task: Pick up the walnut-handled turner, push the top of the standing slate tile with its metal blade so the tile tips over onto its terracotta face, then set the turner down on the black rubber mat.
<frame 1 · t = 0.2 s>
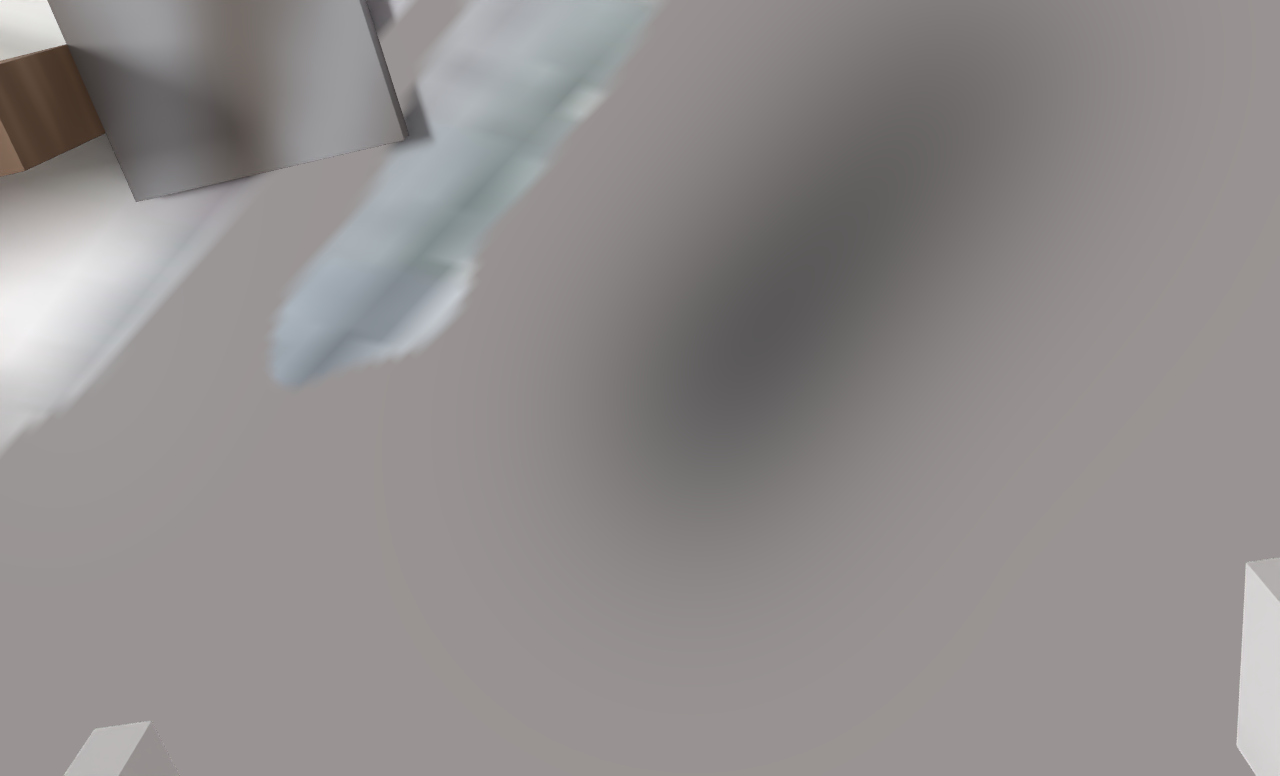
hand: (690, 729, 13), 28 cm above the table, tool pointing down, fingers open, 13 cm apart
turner: (45, 98, 37), on the table
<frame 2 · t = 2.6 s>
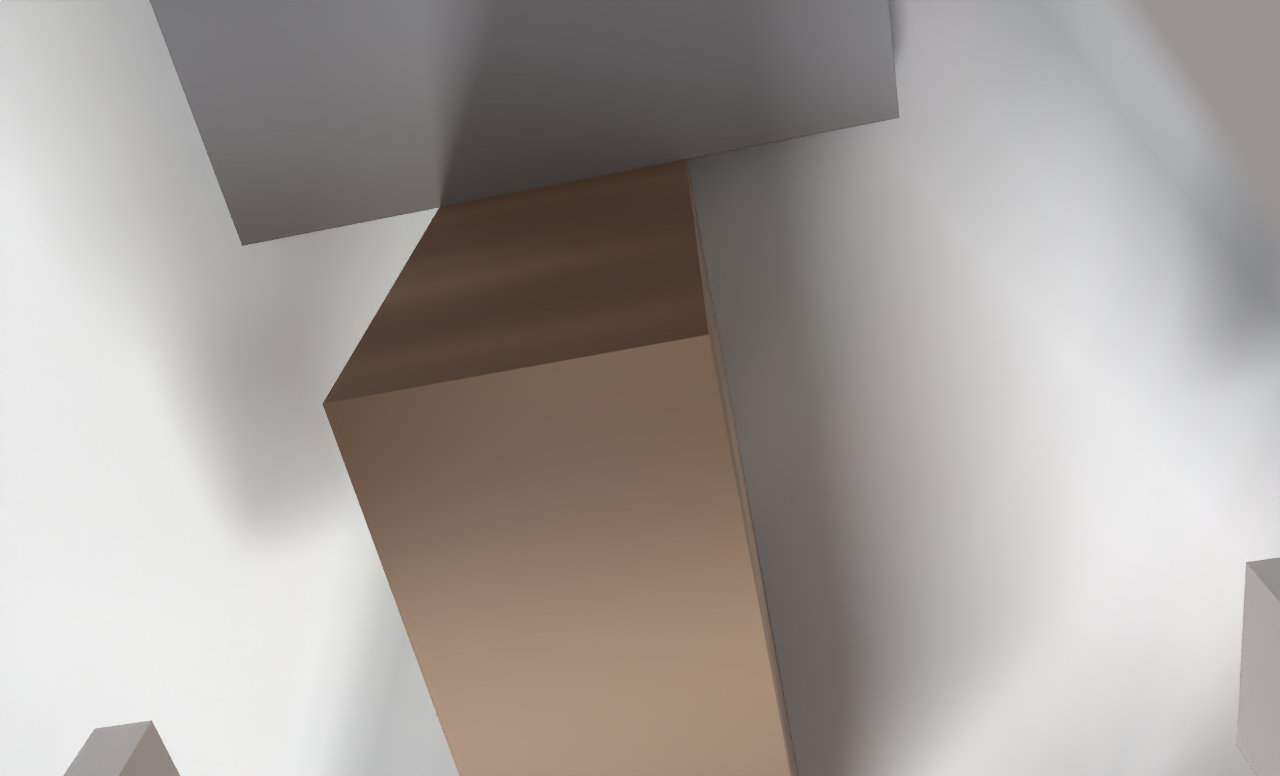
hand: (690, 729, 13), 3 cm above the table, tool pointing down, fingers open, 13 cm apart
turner: (599, 311, 14), on the table
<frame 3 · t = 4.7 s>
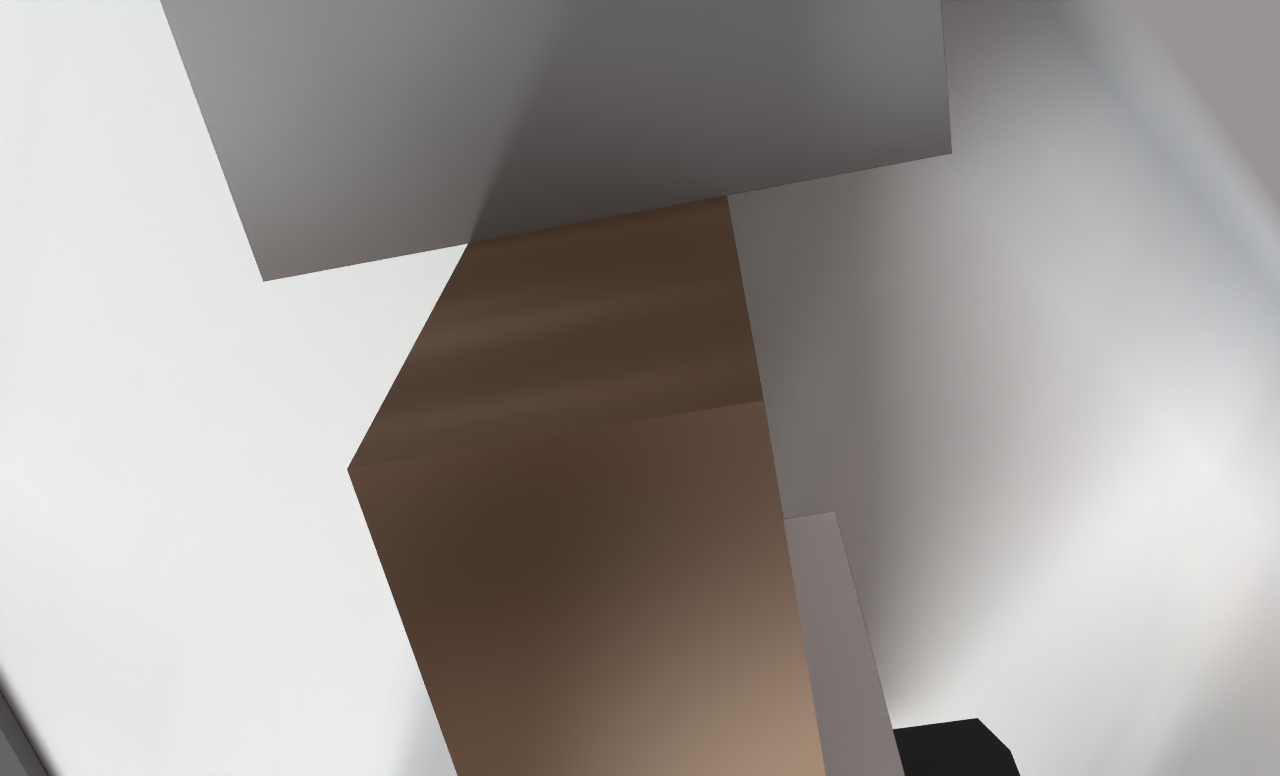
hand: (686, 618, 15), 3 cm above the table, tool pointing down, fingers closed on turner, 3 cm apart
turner: (632, 350, 14), point 3 cm above the table, touching gripper
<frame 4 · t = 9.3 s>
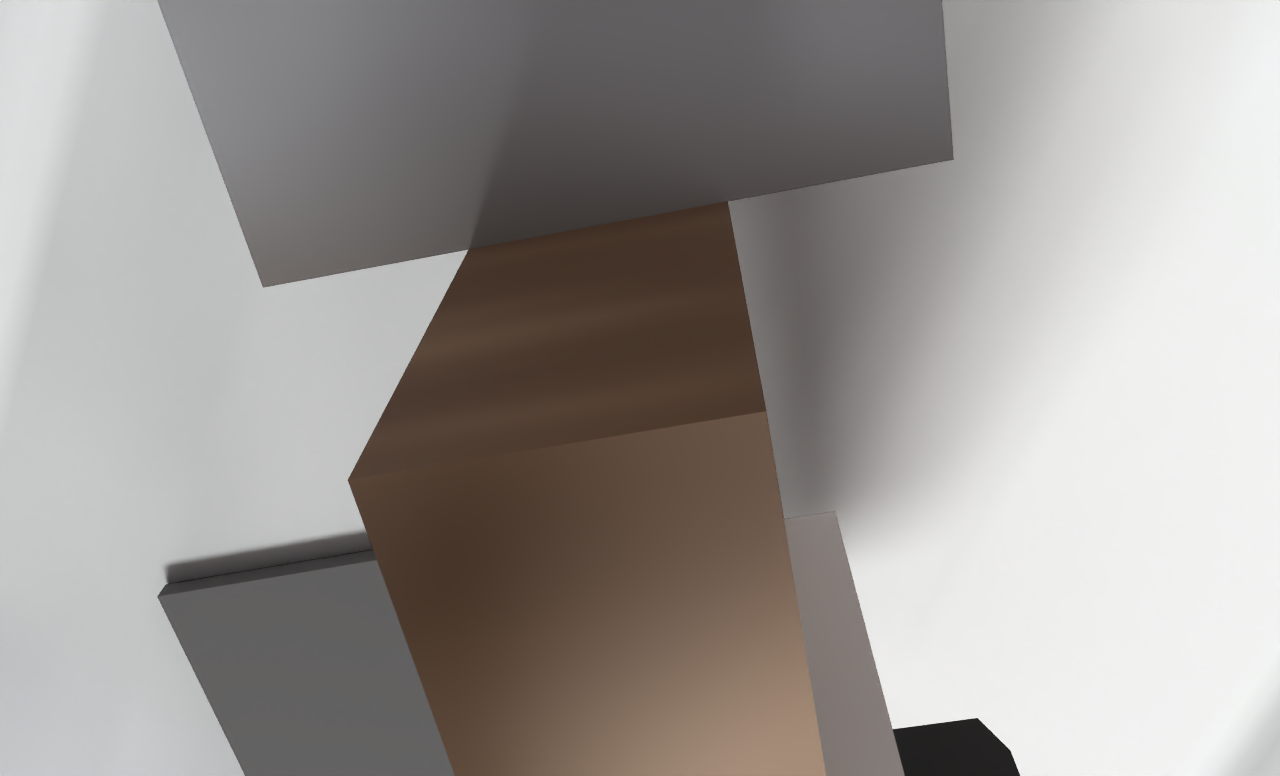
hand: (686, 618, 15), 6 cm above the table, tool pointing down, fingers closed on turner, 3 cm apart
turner: (633, 355, 14), point 5 cm above the table, touching gripper
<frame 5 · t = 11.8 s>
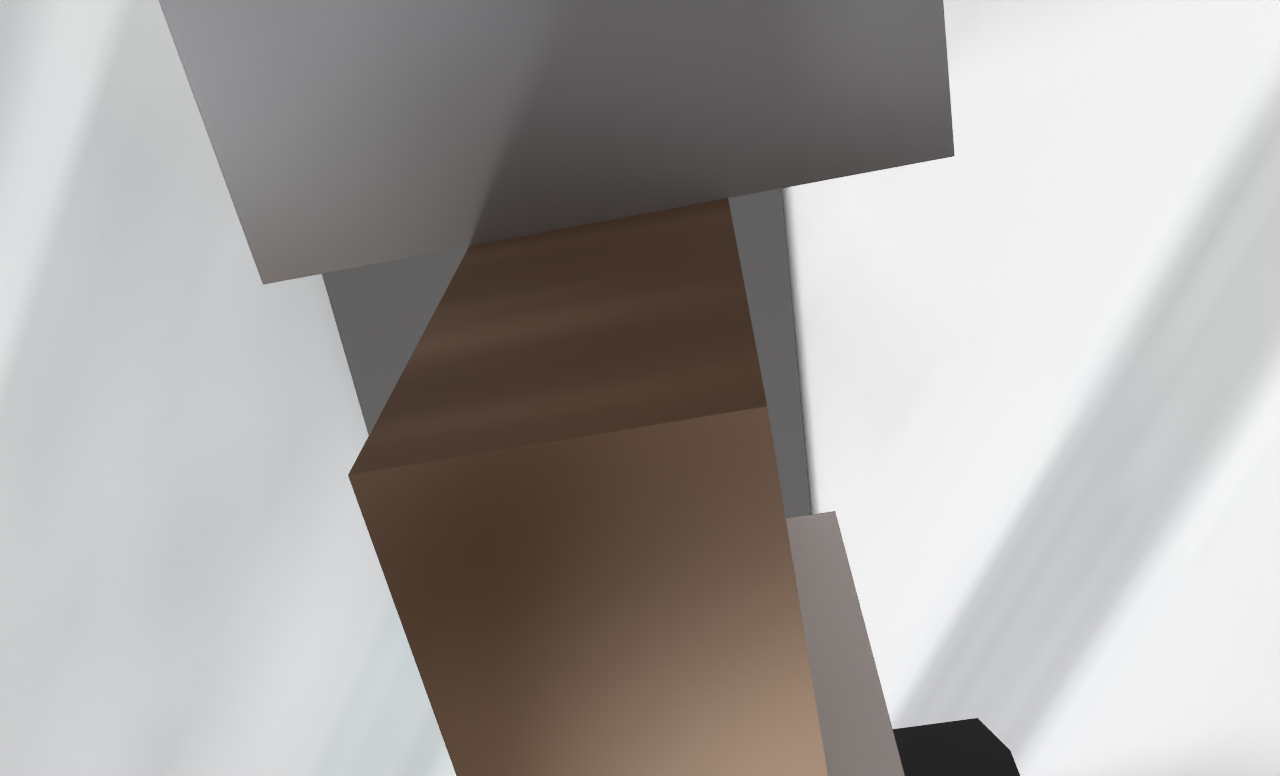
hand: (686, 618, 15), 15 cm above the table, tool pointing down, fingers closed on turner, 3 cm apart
mat: (607, 539, 32), on the table
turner: (633, 353, 14), point 14 cm above the table, touching gripper
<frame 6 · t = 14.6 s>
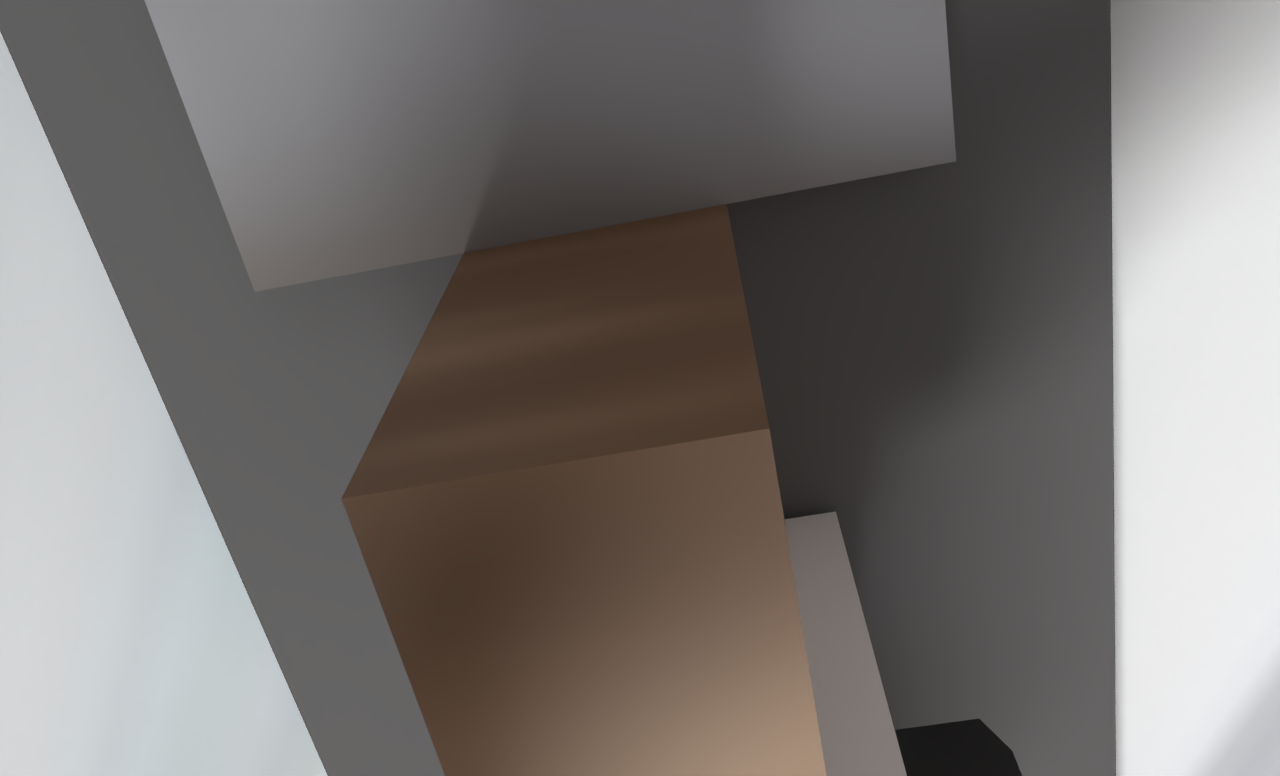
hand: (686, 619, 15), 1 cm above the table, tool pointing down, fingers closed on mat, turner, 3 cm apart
mat: (620, 324, 14), on the table
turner: (630, 359, 14), resting on mat, touching gripper
when the fingers open (1 cm above the table, at t = 15.9 s): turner stays where it is, resting on mat.
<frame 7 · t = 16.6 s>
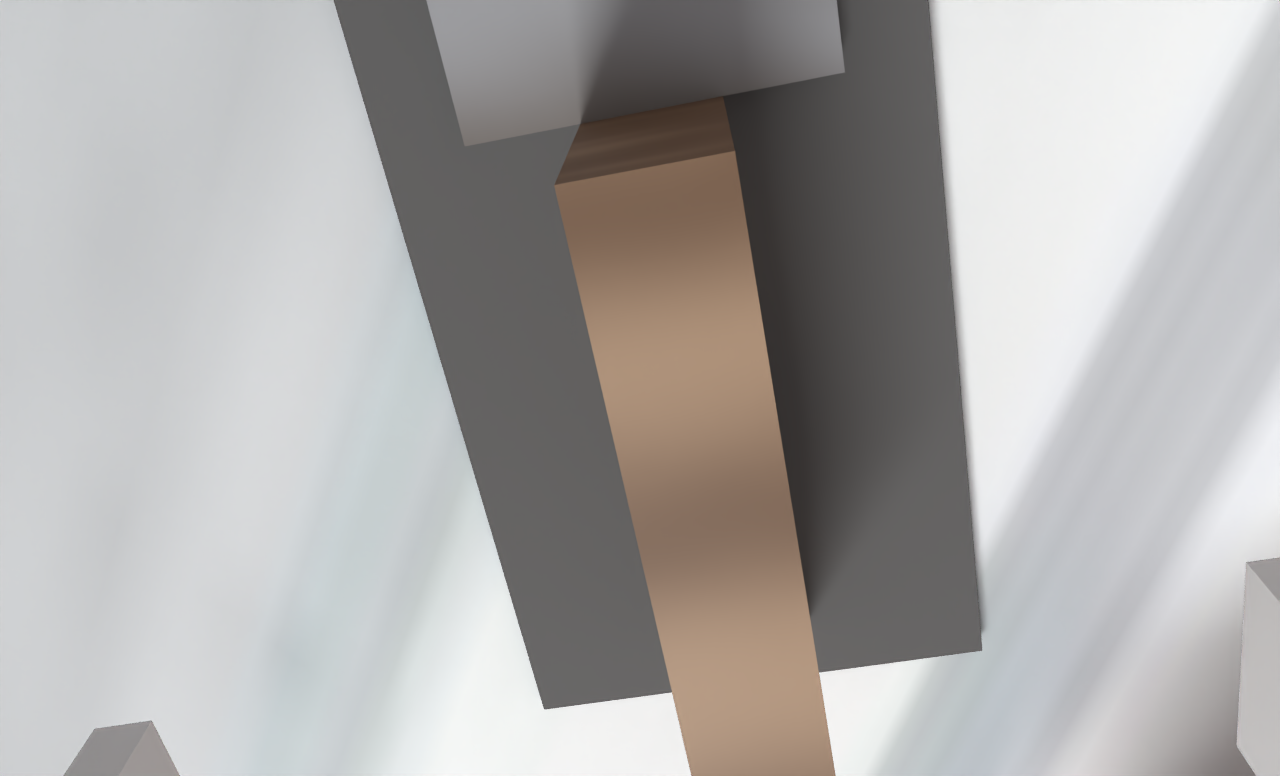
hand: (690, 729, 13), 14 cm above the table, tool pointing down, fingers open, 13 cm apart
mat: (663, 176, 24), on the table
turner: (669, 193, 24), resting on mat
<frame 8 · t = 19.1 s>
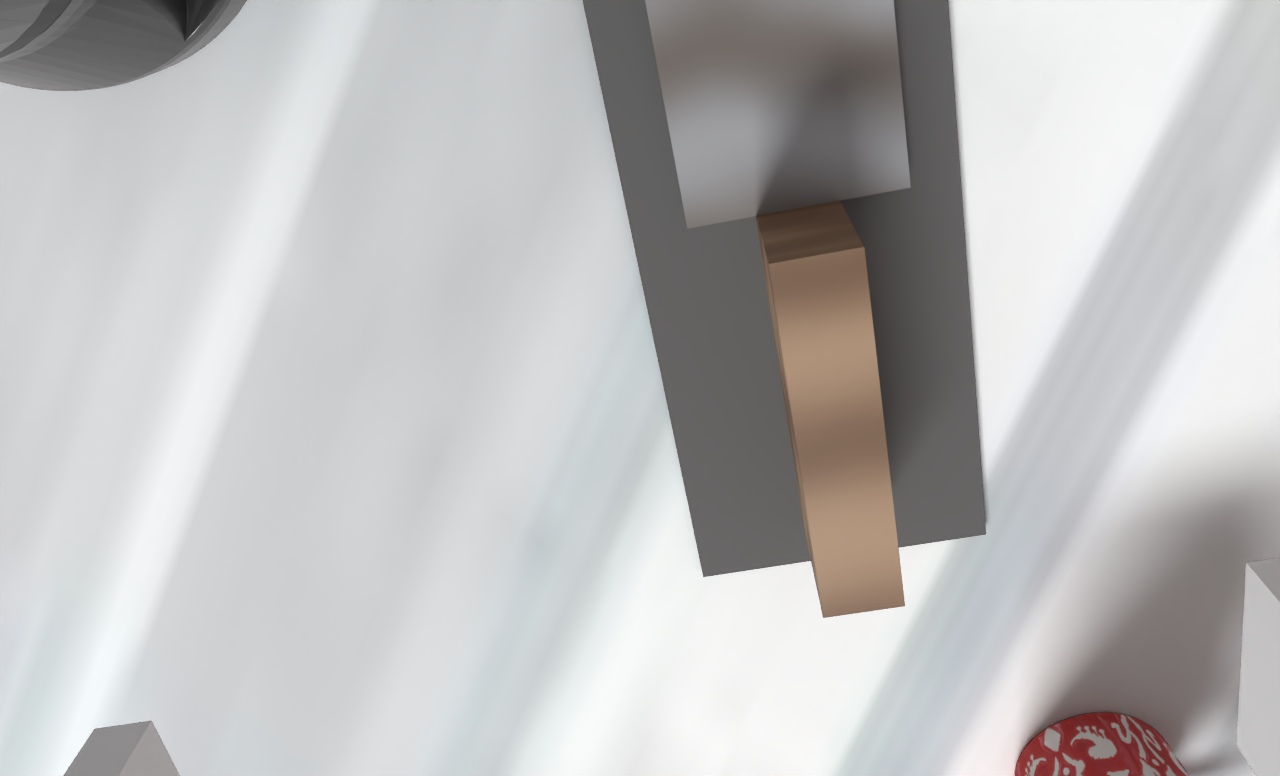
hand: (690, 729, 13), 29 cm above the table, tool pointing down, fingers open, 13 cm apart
mat: (798, 242, 40), on the table
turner: (802, 253, 40), resting on mat
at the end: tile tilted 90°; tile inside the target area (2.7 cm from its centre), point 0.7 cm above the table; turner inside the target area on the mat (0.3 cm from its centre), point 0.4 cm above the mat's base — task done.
